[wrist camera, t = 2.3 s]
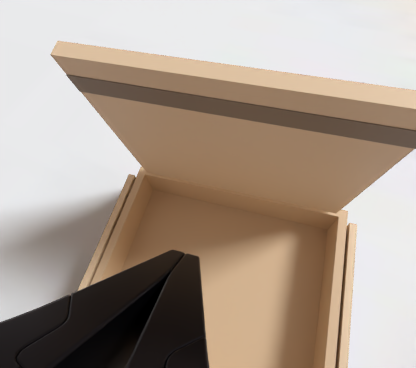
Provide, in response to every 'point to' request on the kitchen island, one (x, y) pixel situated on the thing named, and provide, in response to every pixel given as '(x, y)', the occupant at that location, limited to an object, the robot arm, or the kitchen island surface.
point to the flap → (246, 123)
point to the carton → (243, 268)
